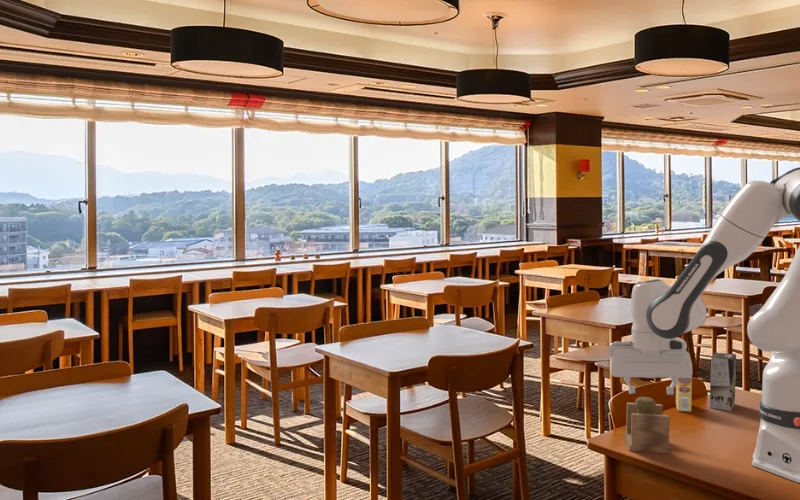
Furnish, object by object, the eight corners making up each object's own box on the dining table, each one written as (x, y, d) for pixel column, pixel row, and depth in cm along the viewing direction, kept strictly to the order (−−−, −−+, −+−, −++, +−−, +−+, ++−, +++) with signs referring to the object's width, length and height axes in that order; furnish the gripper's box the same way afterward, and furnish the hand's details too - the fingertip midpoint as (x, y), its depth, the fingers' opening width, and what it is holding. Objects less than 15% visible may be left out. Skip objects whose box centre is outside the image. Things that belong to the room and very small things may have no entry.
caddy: (662, 438, 181) (663, 404, 181) (670, 453, 171) (671, 417, 170) (624, 436, 183) (624, 402, 183) (629, 450, 173) (630, 414, 172)
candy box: (692, 412, 204) (693, 362, 203) (677, 411, 206) (678, 361, 205) (688, 404, 213) (689, 356, 212) (674, 403, 214) (675, 355, 213)
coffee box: (731, 411, 205) (733, 359, 204) (708, 408, 209) (710, 356, 208) (735, 404, 213) (737, 353, 212) (713, 400, 216) (714, 351, 215)
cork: (658, 443, 173) (659, 401, 173) (634, 442, 175) (634, 400, 174) (654, 435, 179) (655, 395, 179) (631, 434, 181) (631, 394, 180)
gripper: (609, 343, 175) (610, 396, 175) (693, 343, 170) (694, 397, 170) (607, 339, 181) (608, 390, 181) (688, 339, 176) (689, 391, 177)
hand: (651, 393), depth 176 cm, fingers open, 8 cm apart
